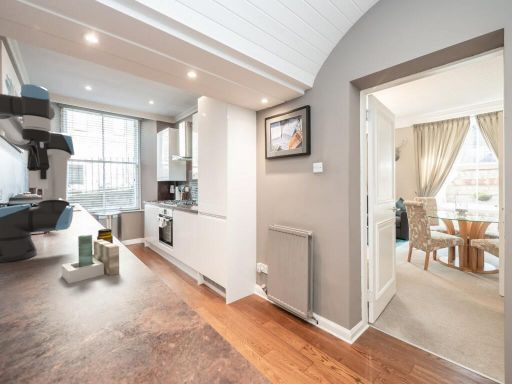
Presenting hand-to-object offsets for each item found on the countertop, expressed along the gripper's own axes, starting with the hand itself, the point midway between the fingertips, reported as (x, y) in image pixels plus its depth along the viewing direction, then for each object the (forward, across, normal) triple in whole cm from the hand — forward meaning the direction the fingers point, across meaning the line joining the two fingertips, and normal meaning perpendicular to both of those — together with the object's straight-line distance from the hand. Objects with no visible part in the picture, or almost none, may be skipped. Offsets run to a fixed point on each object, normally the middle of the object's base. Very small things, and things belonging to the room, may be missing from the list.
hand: (38, 188), depth 85 cm
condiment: (+32, -3, +22) cm, 38 cm away
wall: (+31, +18, +16) cm, 39 cm away
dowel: (+31, +18, +9) cm, 37 cm away
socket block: (+31, +18, +8) cm, 36 cm away
